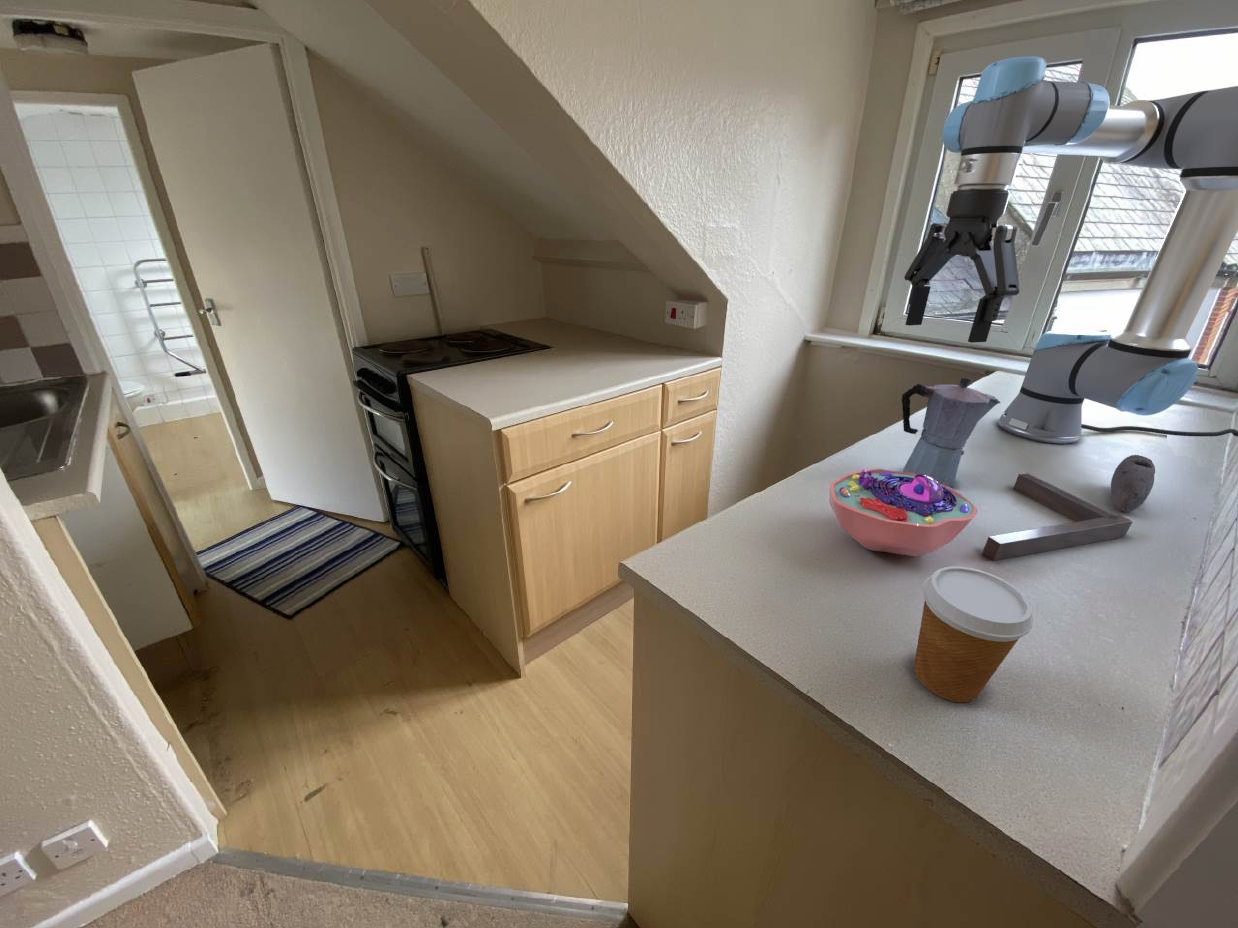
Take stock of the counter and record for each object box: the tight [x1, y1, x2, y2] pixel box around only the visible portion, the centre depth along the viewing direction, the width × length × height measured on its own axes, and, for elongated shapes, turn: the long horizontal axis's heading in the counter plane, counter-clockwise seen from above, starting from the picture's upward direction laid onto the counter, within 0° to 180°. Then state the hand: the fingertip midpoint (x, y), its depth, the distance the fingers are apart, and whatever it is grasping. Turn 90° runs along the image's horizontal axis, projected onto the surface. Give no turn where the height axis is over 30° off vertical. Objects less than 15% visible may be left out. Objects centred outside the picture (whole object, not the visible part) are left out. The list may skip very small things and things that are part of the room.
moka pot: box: [901, 377, 1001, 488], centre depth 96 cm, size 10×15×20 cm, turn 78°
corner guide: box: [981, 472, 1133, 562], centre depth 87 cm, size 26×17×3 cm, turn 105°
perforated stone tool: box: [1110, 454, 1156, 513], centre depth 92 cm, size 15×5×7 cm, turn 135°
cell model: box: [828, 468, 978, 557], centre depth 79 cm, size 17×20×11 cm
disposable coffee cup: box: [913, 565, 1034, 703], centre depth 55 cm, size 10×10×12 cm
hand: (942, 333), depth 88 cm, fingers open, 13 cm apart
